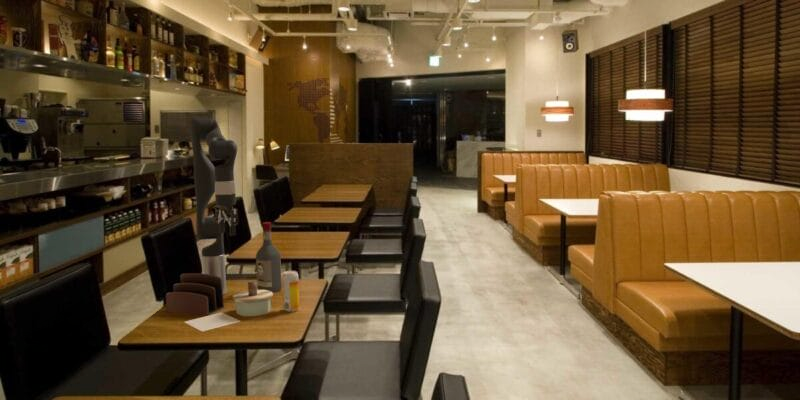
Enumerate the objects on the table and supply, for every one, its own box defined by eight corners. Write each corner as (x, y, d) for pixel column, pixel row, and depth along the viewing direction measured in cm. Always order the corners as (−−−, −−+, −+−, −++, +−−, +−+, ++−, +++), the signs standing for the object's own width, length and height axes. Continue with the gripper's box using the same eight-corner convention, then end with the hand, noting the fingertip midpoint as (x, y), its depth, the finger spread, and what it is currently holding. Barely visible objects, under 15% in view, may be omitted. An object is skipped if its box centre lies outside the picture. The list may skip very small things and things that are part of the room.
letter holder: (183, 305, 242) (181, 271, 240) (224, 309, 235) (222, 274, 234) (166, 312, 233) (163, 277, 231) (208, 317, 226) (206, 281, 224)
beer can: (302, 308, 234) (300, 270, 232) (294, 312, 229) (293, 274, 227) (288, 306, 236) (287, 270, 234) (281, 311, 231) (279, 273, 229)
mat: (183, 323, 219) (183, 321, 219) (221, 314, 229) (221, 312, 229) (202, 333, 208) (202, 331, 208) (241, 322, 218) (241, 321, 218)
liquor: (270, 286, 267) (267, 220, 264) (284, 289, 262) (281, 222, 258) (254, 291, 260) (251, 223, 256) (269, 294, 255) (265, 225, 251)
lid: (225, 297, 230) (224, 282, 229) (260, 289, 240) (259, 275, 239) (245, 305, 219) (244, 289, 218) (280, 297, 229) (279, 281, 228)
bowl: (231, 312, 230) (231, 297, 230) (259, 305, 239) (258, 291, 238) (247, 319, 222) (246, 304, 221) (276, 312, 230) (275, 297, 229)
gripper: (207, 192, 231) (210, 233, 233) (225, 194, 221) (227, 237, 223) (225, 190, 236) (227, 230, 239) (243, 192, 226) (245, 235, 228)
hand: (227, 234), depth 231 cm, fingers open, 8 cm apart
